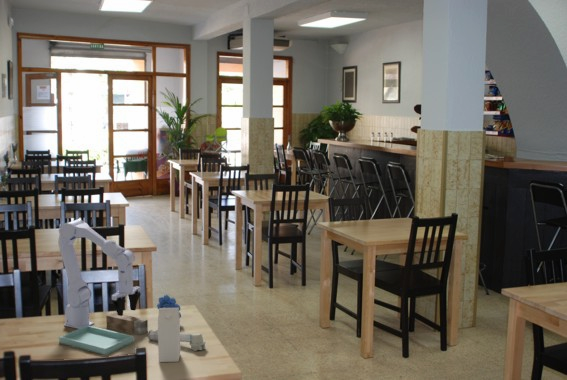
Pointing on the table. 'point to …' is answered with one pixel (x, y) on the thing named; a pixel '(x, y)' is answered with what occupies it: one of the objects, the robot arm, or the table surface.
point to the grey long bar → (184, 339)
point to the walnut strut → (127, 323)
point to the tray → (96, 340)
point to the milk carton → (169, 334)
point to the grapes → (167, 303)
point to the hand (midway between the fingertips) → (126, 312)
